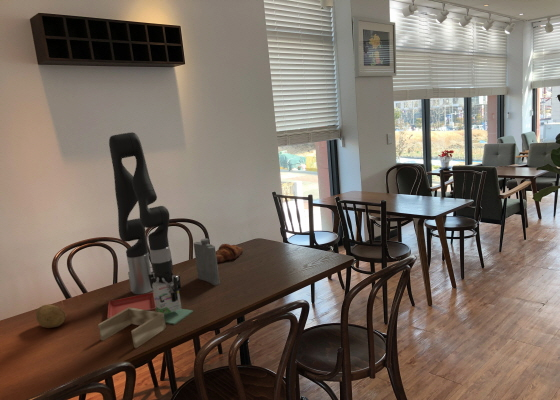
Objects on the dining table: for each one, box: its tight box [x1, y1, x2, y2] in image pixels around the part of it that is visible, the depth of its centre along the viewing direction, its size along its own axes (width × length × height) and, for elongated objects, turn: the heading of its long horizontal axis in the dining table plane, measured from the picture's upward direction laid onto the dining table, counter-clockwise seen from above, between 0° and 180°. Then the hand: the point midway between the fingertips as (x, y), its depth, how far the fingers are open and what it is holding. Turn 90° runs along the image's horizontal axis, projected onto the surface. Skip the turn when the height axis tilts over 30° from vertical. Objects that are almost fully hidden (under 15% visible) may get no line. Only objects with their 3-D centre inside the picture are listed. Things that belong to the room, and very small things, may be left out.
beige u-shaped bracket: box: [97, 307, 167, 349], centre depth 154 cm, size 17×14×6 cm
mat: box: [164, 308, 194, 326], centre depth 167 cm, size 14×11×1 cm
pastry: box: [216, 243, 244, 264], centre depth 232 cm, size 17×15×8 cm
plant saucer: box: [107, 292, 156, 319], centre depth 175 cm, size 18×18×3 cm
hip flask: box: [193, 238, 221, 286], centre depth 198 cm, size 16×4×20 cm, turn 41°
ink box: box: [152, 282, 182, 314], centre depth 165 cm, size 8×5×12 cm, turn 125°
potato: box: [35, 303, 67, 329], centre depth 167 cm, size 10×14×8 cm
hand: (167, 300), depth 166 cm, fingers closed on ink box, 6 cm apart
